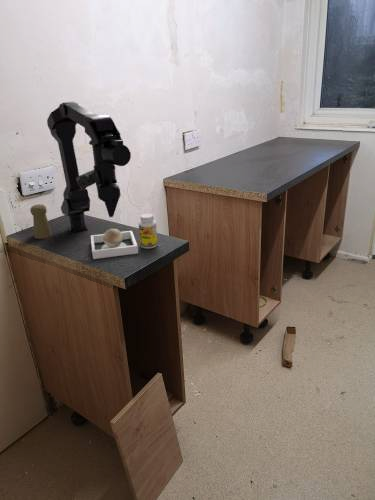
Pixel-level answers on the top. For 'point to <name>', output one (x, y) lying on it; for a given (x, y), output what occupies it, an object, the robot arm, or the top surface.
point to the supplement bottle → (148, 231)
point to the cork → (40, 222)
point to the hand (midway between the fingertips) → (110, 212)
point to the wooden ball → (112, 238)
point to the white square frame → (115, 251)
